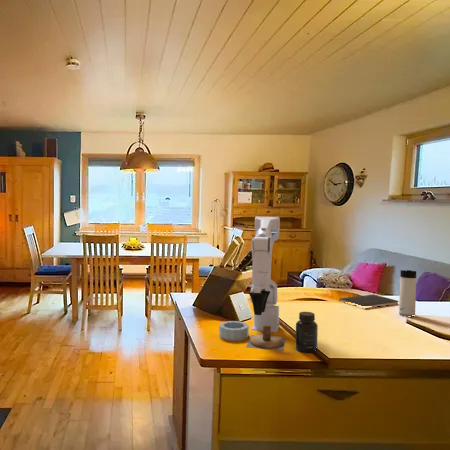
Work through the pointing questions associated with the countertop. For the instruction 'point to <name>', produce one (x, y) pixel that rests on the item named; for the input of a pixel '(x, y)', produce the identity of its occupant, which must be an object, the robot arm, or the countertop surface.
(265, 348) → the mat
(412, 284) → the travel mug
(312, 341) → the supplement bottle
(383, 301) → the hardcover book
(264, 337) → the lid
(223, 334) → the bowl
